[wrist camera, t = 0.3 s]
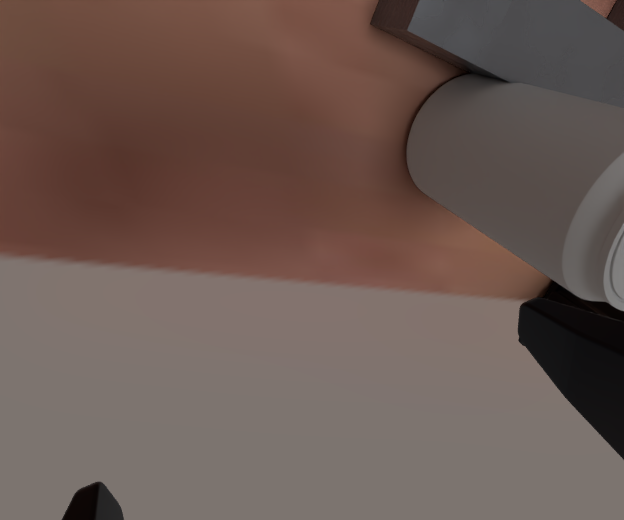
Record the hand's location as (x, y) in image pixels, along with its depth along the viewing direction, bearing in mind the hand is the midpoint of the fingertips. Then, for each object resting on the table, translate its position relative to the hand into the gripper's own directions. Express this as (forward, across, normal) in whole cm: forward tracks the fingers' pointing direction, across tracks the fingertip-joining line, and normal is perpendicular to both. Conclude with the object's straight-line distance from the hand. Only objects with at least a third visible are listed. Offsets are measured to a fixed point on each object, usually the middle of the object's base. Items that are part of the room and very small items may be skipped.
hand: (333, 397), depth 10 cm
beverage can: (+14, -12, +2) cm, 19 cm away
